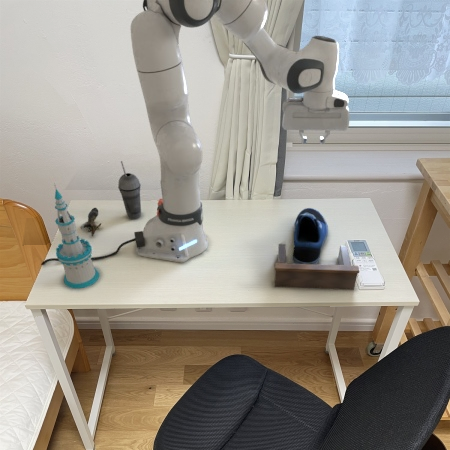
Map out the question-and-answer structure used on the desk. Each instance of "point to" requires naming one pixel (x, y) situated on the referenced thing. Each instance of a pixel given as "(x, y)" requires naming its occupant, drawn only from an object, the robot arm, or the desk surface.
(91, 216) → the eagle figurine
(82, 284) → the model tower
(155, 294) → the desk surface
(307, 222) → the shoe
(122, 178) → the beverage cup
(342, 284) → the wooden u-shaped bracket
